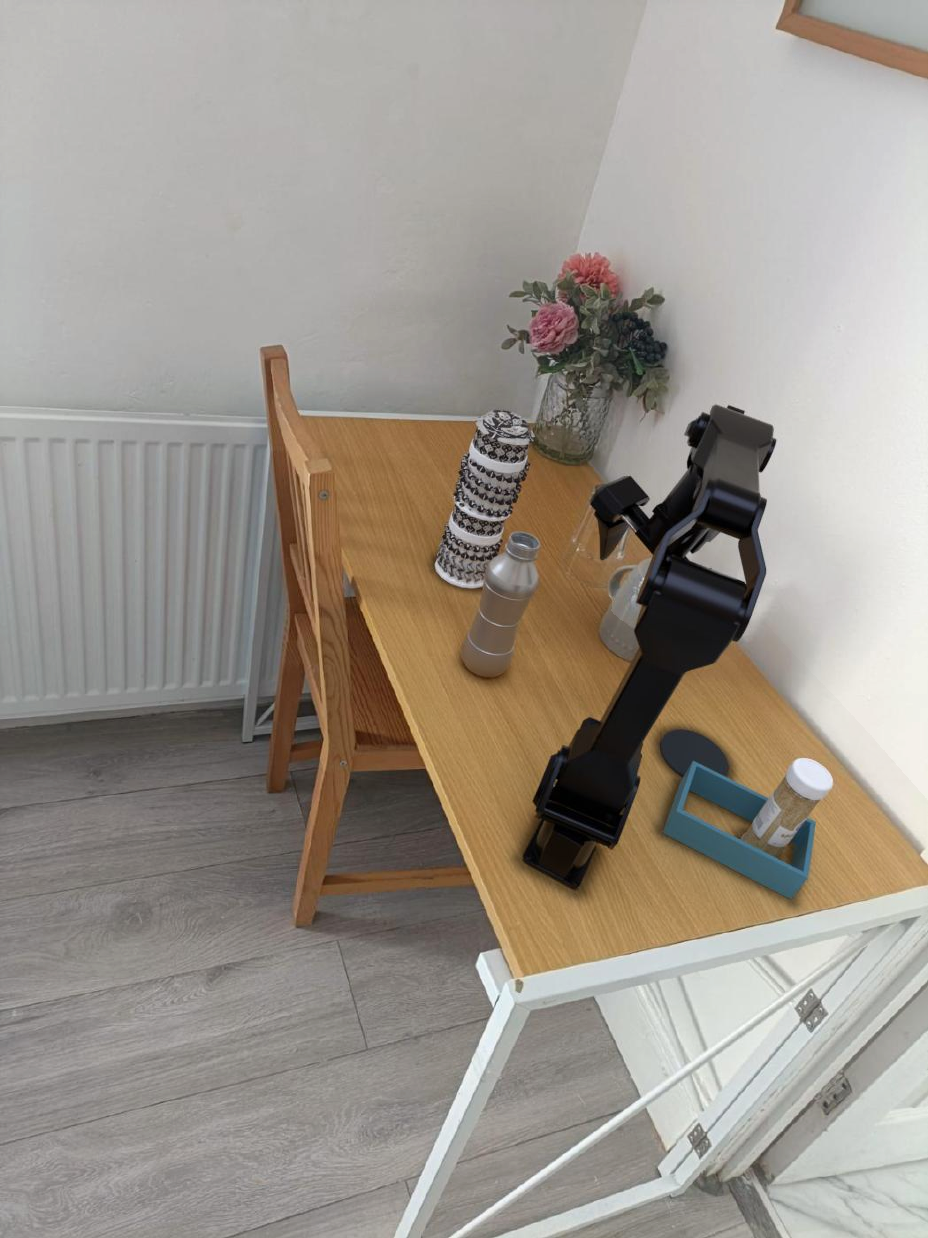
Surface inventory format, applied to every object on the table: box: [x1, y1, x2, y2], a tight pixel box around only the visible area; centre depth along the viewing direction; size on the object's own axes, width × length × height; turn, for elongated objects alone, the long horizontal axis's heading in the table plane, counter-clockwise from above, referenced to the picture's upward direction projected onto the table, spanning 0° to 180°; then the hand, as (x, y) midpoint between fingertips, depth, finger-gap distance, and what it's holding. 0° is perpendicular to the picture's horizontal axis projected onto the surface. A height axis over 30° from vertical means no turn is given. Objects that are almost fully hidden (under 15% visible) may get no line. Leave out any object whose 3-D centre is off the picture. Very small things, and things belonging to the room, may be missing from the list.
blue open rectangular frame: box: [662, 761, 817, 900], centre depth 100 cm, size 9×15×4 cm, turn 66°
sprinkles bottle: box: [740, 757, 834, 859], centre depth 97 cm, size 5×5×13 cm
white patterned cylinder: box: [434, 409, 536, 589], centre depth 122 cm, size 9×9×25 cm
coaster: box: [659, 728, 730, 778], centre depth 110 cm, size 9×9×1 cm
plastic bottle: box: [460, 531, 541, 678], centre depth 108 cm, size 6×7×20 cm
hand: (626, 586), depth 107 cm, fingers open, 9 cm apart
